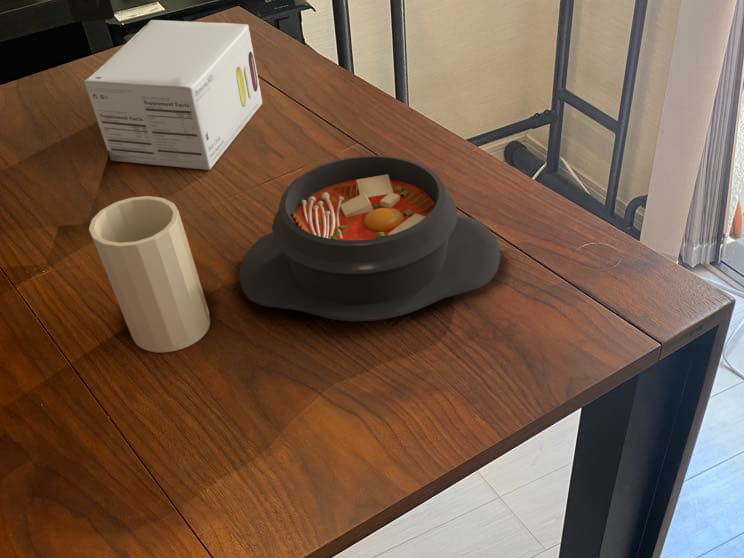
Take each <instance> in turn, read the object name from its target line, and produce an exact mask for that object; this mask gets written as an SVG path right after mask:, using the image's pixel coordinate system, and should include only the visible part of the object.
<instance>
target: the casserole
mask: <svg viewBox="0 0 744 558" xmlns="http://www.w3.org/2000/svg"><path fill="white" fill-rule="evenodd" d="M455 202H456V201H455V200H454V199H453V198H452V196H451V195H450V193H449V192H448V191H447V190H446V188H445V186H444V183H443V181H442V180H441V178H440V177H439V176H438V175H437V174H436V173H435V172H434V171H432V170H431V169H430V168H429V167H426V166H425V165H423V164H421V163H419V162H417V161H413V160H410V159H406V158H401V157H396V156H392V155H391V156H389V155H359V156H352V157H345V158H340V159H336V160H333V161H329V162H326V163H323V164H321V165H318V166H316V167H313V168H311V169H310V170H308V171H305V172H304V173H303V174H301V175H299V176H297V178H295V179H294V180H293V181H292V182H291V183H290V184H289V185H288V186H287V187H286V189H285V190H284V192H283V193H282V195H281V197H280V202H279V205H278V210H277V212H276V213H275V215H274V217H273V221H272V225H271V231H272V232H270V233H267V234H265V235H263V236H261V237H259V238H258V239H257V240H256V241H255V242H254V243H253V244H252V245H251V246H250V247H249V248H248V249H247V252H246V253H245V255H244V256H243V258H242V260H241V263H240V266H239V270H238V276H239V277H238V278H239V285H240V287H241V289H242V293H243V294H244V295H245V296H246V297H247V298H248V299H249V301H251V302H253V303H255V304H256V305H259V306H261V307H267V308H268V307H269V308H277V309H285V310H293V311H298V312H302V313H306V314H309V315H314V316H318V317H320V318H325V319H329V320H334V321H343V322H344V321H345V322H375V321H381V320H388V319H393V318H396V317H400V316H404V315H409V314H411V313H414V312H416V311H418V310H421V309H423V308H425V307H428V306H430V305H432V304H435V303H436V302H439V301H441V300H444V299H447V298H450V297H454V296H457V295H460V294H464V293H468V292H471V291H474V290H477V289H480V288H482V287H483V286H485V285H486V284H488V283H490V282H491V281H492V280H493V278H494V277H495V275H496V274H497V272H498V270H499V267H500V263H501V248H500V245H499V242H498V240H497V238H496V236H495V235H494V234H493V232H492V231H491V229H490V228H488V227H487V226H486V225H485V224H483V223H482V222H480V221H479V220H478V219H475V218H473V217H470V216H465V215H458V208H457V205H456V203H455Z"/></svg>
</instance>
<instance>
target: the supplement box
mask: <svg viewBox="0 0 744 558" xmlns="http://www.w3.org/2000/svg"><path fill="white" fill-rule="evenodd" d="M252 44H253V43H252V38H251V32H250V26H249V24H247V23H246V24H245V23H234V22H233V23H232V22H231V23H230V22H205V21H185V20H165V19H163V20H162V19H151V20H150V21H148V22H147V23H146V25H144V26H143V27H142V28H141V29H139V31H138V32H137V33H135V35H133V37H131V39H129V41H127V42H126V43H125V44H124V45H123V46H122V47H121V48H120V49H119V50H117V52H116V53H114V54H113V55H112V56H111V57H110V58H109V59H108V60H107V61H106V62H105V63H104V64H103V65H101V66H100V67H99V69H97V70H96V71H95V72H93V74H92V75H90V76H89V77H87V78H86V79H85V80H84V81H83V82H84V85H85V88H86V92H87V95H88V97H89V101H90V103H91V106H92V109H93V112H94V115H95V118H96V121H97V124H98V127H99V130H100V132H101V136H102V139H103V142H104V145H105V147H106V151H108V152H109V153H108V157H109V160H110V161H112V162H123V163H131V164H140V165H141V164H142V165H152V166H162V167H173V168H174V167H175V168H183V169H184V168H185V169H194V170H204V171H210V170H212V168H213V167H214V166H215V164H216V163H217V162H218V160H219V159H220V158H221V156H222V155H223V154H224V153H225V151H226V150H227V149H228V148H229V146H230V145H231V144H232V143H233V141H234V140H235V139H236V138H237V137H238V135H239V134H240V133H241V131H242V130H243V129H244V127H245V126H246V125H247V124H248V122H249V121H250V120H251V119H252V117H253V116H254V115H255V114H256V112H257V111H258V110H259V108H261V106H262V105H263V98H262V92H261V87H260V82H259V75H258V71H257V65H256V60H255V53H254V48H253V45H252Z"/></svg>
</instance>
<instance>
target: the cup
mask: <svg viewBox="0 0 744 558" xmlns="http://www.w3.org/2000/svg"><path fill="white" fill-rule="evenodd" d="M88 231H89V234H90V237H91V239H92V241H93V245H94V246H95V249H96V251H97V254H98V256H99V259H100V262H101V264H102V266H103V269H104V271H105V274H106V277H107V279H108V282H109V284H110V287H111V288H112V292H113V294H114V296H115V299H116V301H117V304H118V306H119V308H120V311H121V314H122V315H123V319H124V321H125V324H126V326H127V329H128V331H129V333H130V336H131V338H132V340H133V342H134V344H135V345H137V346H138V347H139V348H141V349H142V350H144V351H147V352H152V353H172V352H177V351H181V350H183V349H186V348H188V347H190V346H192V345H194V344H196V343H197V342H199V341H200V340H201V339H202V338H203V337H204V336H205V335H206V334H207V332H209V329H210V326H211V316H210V310H209V307H208V304H207V300H206V297H205V294H204V291H203V287H202V284H201V280H200V278H199V273H198V271H197V267H196V264H195V261H194V257H193V254H192V250H191V247H190V244H189V240H188V238H187V234H186V231H185V228H184V225H183V220H182V218H181V214H180V211H179V210H178V208H177V206H176V204H175V203H174V202H172V201H170V200H168V199H166V198H164V197H158V196H151V195H143V196H132V197H129V198H125V199H122V200H118V201H115V202H113V203H112V204H110V205H108V206H105V207H103V208H102V209H101V210H100V211H99V212H97V213H96V214H95V216H94V217H93V218H92V219H91V221H90V224H89V227H88Z"/></svg>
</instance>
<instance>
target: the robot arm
mask: <svg viewBox="0 0 744 558" xmlns="http://www.w3.org/2000/svg"><path fill="white" fill-rule="evenodd" d="M66 2H67V5H68V8H69V11H70V14H71V17H72V20H74V21H75V22H77V23H87V22H97V21H106V20H112V19H114V17H115V14H116V10H115V7H114V3H113V0H66Z"/></svg>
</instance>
